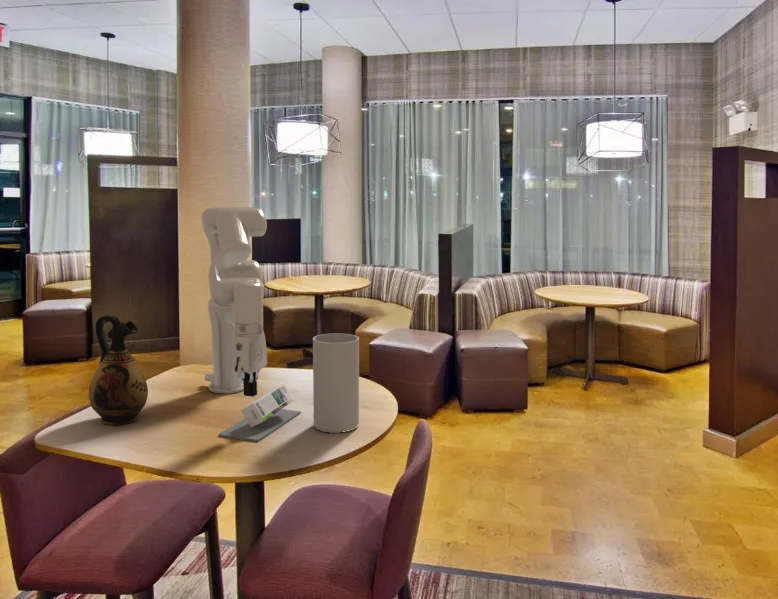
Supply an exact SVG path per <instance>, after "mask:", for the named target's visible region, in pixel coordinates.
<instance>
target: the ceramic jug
mask: <svg viewBox="0 0 778 599" xmlns="http://www.w3.org/2000/svg"><path fill="white" fill-rule="evenodd" d="M107 323H111V325H112V327H111V329H110V330H109V331H108V332H107V337H106V333H105V331H104V325H105V324H107ZM94 326H95V327H94V328H95V334H96V337H97V341H98V344H99V347H100V349H101V356H100V359H99V364H98V366H97V368H96V369H95V372H94V373H93V376H92V378H91V381H90V385H89V388H88V389H89V390H88V400H89V404H90V406H91V409H92V410H93V411H94V412H95V413H96V414H97V415H99V417H100V421H101V423H103V424H104V425H108V426H115V427H116V426H117V427H119V426H122V425H129V424H132V423H135V422H136V420H137V419H138V415H139V413H141V411H142V410H143V408H144V407H145V405H146V403H147V400H148V396H149V388H148V383H147V379H146V375H145V373H144V371H143V370H142V368H141V366H140V365H139V363H138V362H137V360H136V359H135V357H133V355H132V354H131V353H130V351H129V350H128V349H127V347H126V345H125V339H127V338H129V337H131V336H134V335H136V334H138V333H139V332H140V330H139V328H138V327H137V325H136V324H135V323H134V322H133V321H131V320H129V321H127V322H124V321H122V322H121V321H120V319H119V318H118V317H117V316H115V315H113V314H107V313H106V314H104V315H102V316H100V317H98V319H97V320H96V322H95V325H94ZM107 338H108V339H111V344H110V347H109V344H108V342H107Z"/></svg>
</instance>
